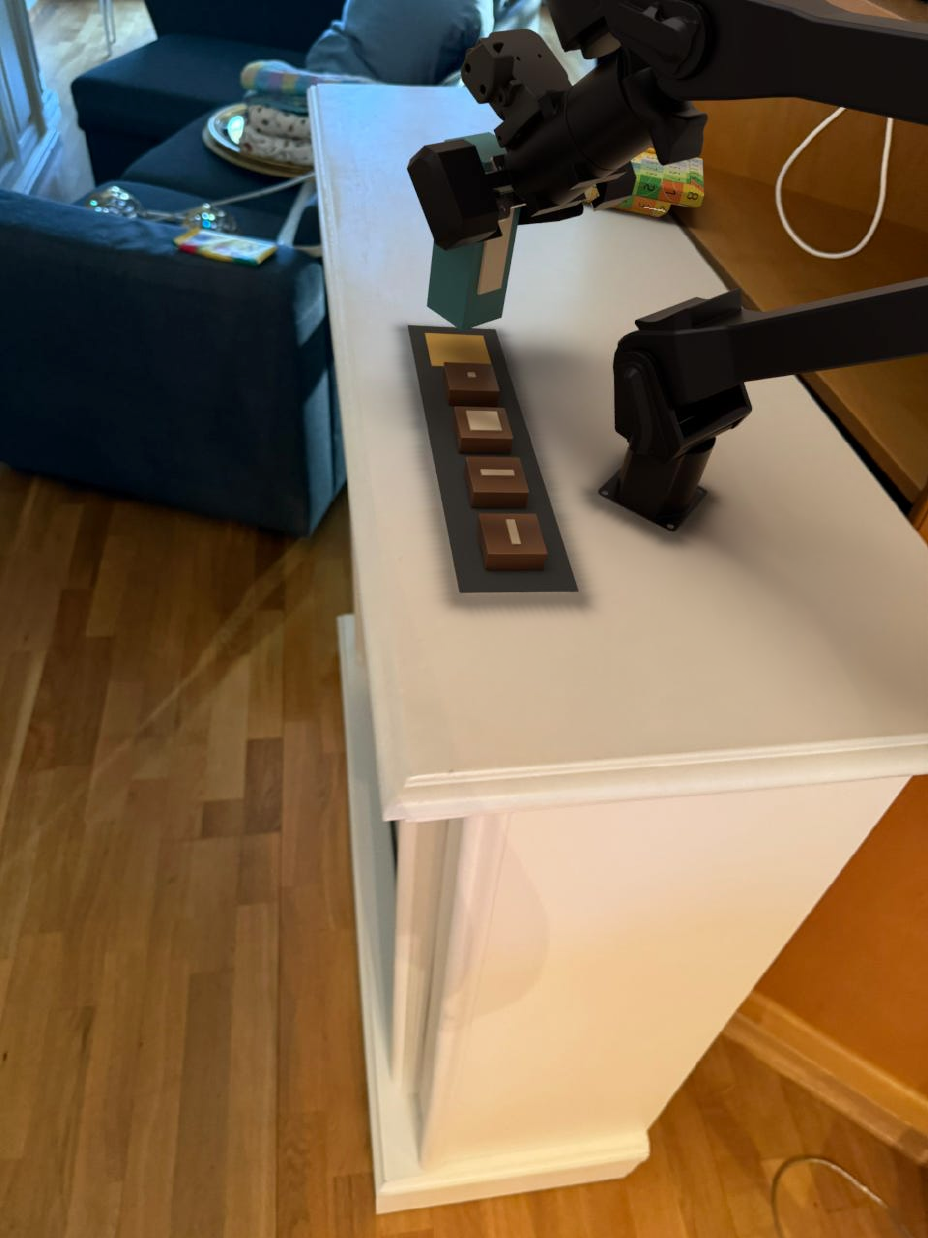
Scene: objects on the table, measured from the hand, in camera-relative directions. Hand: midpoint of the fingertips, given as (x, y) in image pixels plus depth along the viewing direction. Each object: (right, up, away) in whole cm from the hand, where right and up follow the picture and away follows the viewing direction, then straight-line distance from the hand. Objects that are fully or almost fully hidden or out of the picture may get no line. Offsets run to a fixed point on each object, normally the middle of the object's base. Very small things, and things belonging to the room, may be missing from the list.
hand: (464, 226), depth 71 cm
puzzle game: (+18, +20, +37) cm, 46 cm away
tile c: (+1, -17, -1) cm, 17 cm away
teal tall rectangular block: (0, -5, +4) cm, 7 cm away
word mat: (+1, -17, -1) cm, 17 cm away
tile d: (0, -12, +3) cm, 13 cm away
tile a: (+3, -26, -10) cm, 28 cm away
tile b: (+2, -21, -6) cm, 22 cm away
